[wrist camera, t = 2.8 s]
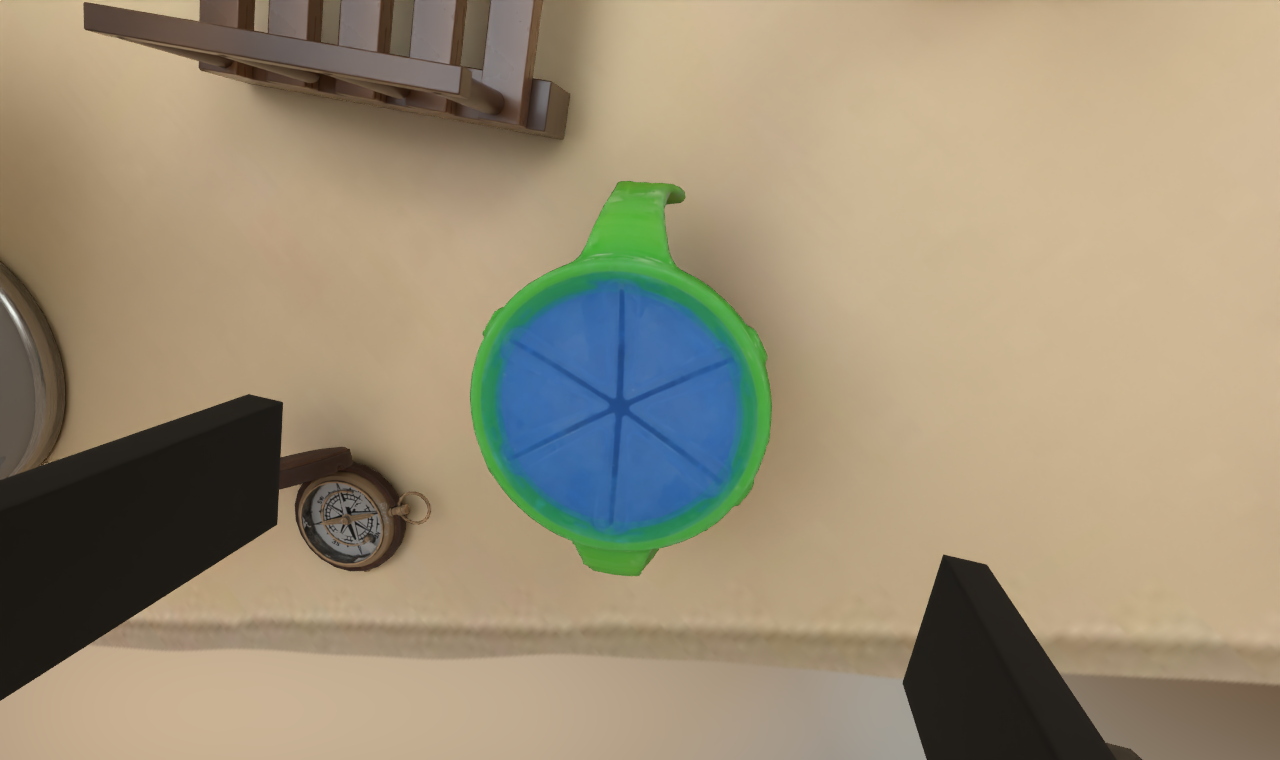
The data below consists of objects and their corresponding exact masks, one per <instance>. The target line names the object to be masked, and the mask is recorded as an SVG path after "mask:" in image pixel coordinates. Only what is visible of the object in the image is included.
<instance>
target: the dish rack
mask: <svg viewBox="0 0 1280 760" xmlns="http://www.w3.org/2000/svg"><path fill="white" fill-rule="evenodd" d="M542 3H543V0H491V1H490V10H489V19H488V27H487V36H486V45H485V54H484V63H483V70H482V69H476V68H470V67H464V66H460V64H461V55H462V45H463V36H464V26H465V17H466V7H467V0H414V9H413V20H412V32H411V43H410V54H409V57H405V56H399V55H394V54H390V42H391V30H392V17H393V5H394V0H341V5H340V20H339V36H338V45H335V44H329V43H323V42H321V31H322V14H323V0H269V19H268V33H264V32H258V31H254V13H255V0H200V22H199V21H193V20H187V19H181V18H176V17H170V16H164V15H158V14H152V13H146V12H140V11H134V10H129V9H123V8H117V7H111V6H105V5H99V4H93V3H87V2H84V29H85V30H88V31H91V32H95V33H98V34H102V35H105V36H111V37H116V38H119V39H123V40H126V41H130V42H134V43H137V44H141V45H144V46H148V47H151V48H155V49H158V50H162V51H165V52H169V53H172V54H176V55H179V56H183V57H186V58H190V59H194V60H197V61H199V68H200V70H201V71H204V72H208V73H212V74H216V75H219V76H223V77H227V78H230V79H234V80H238V81H242V82H245V83H250V84H256V85H261V86H267V87H272V88H278V89H283V90H289V91H295V92H300V93H306V94H311V95H317V96H322V97H328V98H334V99H339V100H345V101H350V102H356V103H361V104H367V105H373V106H378V107H384V108H389V109H395V110H400V111H406V112H411V113H417V114H423V115H428V116H434V117H439V118H445V119H450V120H456V121H462V122H467V123H473V124H478V125H484V126H489V127H495V128H501V129H506V130H512V131H517V132H523V133H528V134H534V135H540V136H545V137H551V138H556V139H562V140H563V139H564V134H565V127H566V120H567V113H568V106H569V99H570V94H569V93H568V92H566V91H565V90H563V89H562V88H560V87H559V86H557V85H556V84H554V83H553V82H551V81H546V80H541V79H535V78H533V72H534V64H535V56H536V49H537V41H538V33H539V26H540V18H541V11H542Z"/></svg>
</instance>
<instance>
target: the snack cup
mask: <svg viewBox="0 0 1280 760" xmlns="http://www.w3.org/2000/svg"><path fill="white" fill-rule="evenodd" d="M684 199H685V192H684V191H683V190H682V189H681V188H680V187H678V186H676V185H673V184H665V183H647V182H632V181H621V182H618V183H617V185H616V187H615V189H614V191H613V192H612V194H611V196H610V197H609V198H608V200H607V202H606V203H605V205H604V206H603V209H602V211H601V213H600V215H599V217H598V219H597V221H596V223H595V225H594V227H593V229H592V232H591V234H590V236H589V239H588V241H587V243H586V246H585V248H584V249H583V251H582V253H581V255H580V256H579V257H578V258H577V259H576V260H574V261H573V262H571V263H569V264H567V265H564V266H562V267H559V268H557V269H555V270H553V271H550V272H548V273H546V274H545V275H543V276H541V277H539V278H538V279H536V280H534V281H533V282H531V283H529V284H528V285H527V286H525V287H524V288H523V289H522V290H520V291H519V292H518V293H517V294H516V295H515V296H514V297H513V298H511V299H510V300H509V302H508V303H507V304H506V305H505V306H504V307H502V308H500V309H498V310H497V311H495V312H494V314H493V316H492V318H491V319H490V321H489V322H488V324H487V326H486V328H485V330H484V331H483V336H484V339H483V341H482V344H481V346H480V348H479V350H478V353H477V357H476V361H475V364H474V369H473V373H472V379H471V390H470V401H471V414H472V420H473V426H474V430H475V434H476V437H477V441H478V444H479V446H480V449H481V452H482V455H483V457H484V459H485V462H486V464H487V467H488V469H489V471H490V472H491V474H492V475H493V476H494V478H495V479H496V481H497V482H498V483H499V485H500V486H501V488H502V489H503V490H504V491H505V493H506V494H507V495H508V496H509V498H510V499H511V500H512V501H513V502H514V503H515V504H516V505H517V506H518V507H519V508H521V509H522V510H523V511H524V512H525V513H526V514H527V515H528V516H529V517H531V518H532V519H533V520H535V521H536V522H538V523H539V524H541V525H542V526H543V527H545V528H547V529H548V530H550V531H552V532H553V533H555V534H557V535H559V536H561V537H564V538H566V539H568V540H571V541H572V542H573V544H574V545H575V546H576V548H577V550H578V552H579V555H580V556H581V558H582V560H583V564H585V565H587V566H589V568H591V569H592V570H594V571H598V572H603V573H608V574H614V575H622V576H639V575H640V574H641V571H642V570H643V569H644V568H645V566H646V565H647V564H648V563H649V562H650V560H651V559H652V558H653V557H654V555H655V554H656V552H657V551H658V550H659V548H663V547H667V546H671V545H674V544H677V543H680V542H682V541H685V540H687V539H690V538H692V537H694V536H696V535H698V534H700V533H701V532H703V531H706V530H707V529H708V528H710V527H711V526H713V525H714V524H716V523H717V522H718V521H719V520H721V519H722V518H723V517H724V516H725V515H726V514H727V513H728V512H729V511H730V510H731V508H732V507H733V506H738V505H739V504H740V503H741V502H742V500H743V499H744V498H745V497H746V496H747V495H748V493H749V492H750V490H751V489H752V487H753V484H754V477H755V475H756V473H757V471H758V470H759V467H760V464H761V461H762V459H763V456H764V454H765V450H766V446H767V444H768V442H769V437H770V426H771V410H772V402H771V392H770V384H769V379H768V375H767V370H766V367H765V364H766V360H767V354H766V352H765V349H764V347H763V345H762V342H761V341H760V339H759V337H758V334H757V333H756V331H755V330H754V329H753V328H751V327H749V326H747V325H746V324H745V323H744V321H743V320H742V318H741V317H740V316H739V315H738V314H737V313H736V311H735V310H734V309H733V308H732V307H731V306H730V305H729V304H728V303H727V302H726V301H725V300H724V299H723V298H722V297H721V296H720V295H719V294H717V293H716V292H715V291H714V290H713V289H712V288H711V287H709V286H708V285H706V284H705V283H704V282H702V281H701V280H699V279H697V278H695V277H694V276H692V275H690V274H688V273H686V272H684V271H682V270H680V269H679V268H678V267H677V266H676V265H675V263H674V262H673V260H672V258H671V256H670V253H669V247H668V241H667V235H666V227H665V215H664V208H665V205H666V204H675V203H681V202H683V201H684Z"/></svg>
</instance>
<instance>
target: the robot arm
mask: <svg viewBox="0 0 1280 760" xmlns="http://www.w3.org/2000/svg"><path fill="white" fill-rule="evenodd" d="M64 408H65V381H64V374H63V367H62V363H61V359H60V355H59V351H58V348H57V345H56V342H55V339H54V336H53V334H52V332H51V329H50V327H49V325H48V323H47V321H46V319H45V317H44V315H43V313H42V311H41V310H40V308H39V307H38V305H37V303H36V302H35V300H34V299H33V297H32V296H31V294H30V293H29V292H28V290H27V289H26V288H25V286H24V285H23V284H22V283H21V282H20V281H19V279H18V278H17V277H16V276H15V275H14V274H13V273H12V272H11V271H10V270H9V269H8V268H7V267H6V266H5V265H4V264H3V263H1V262H0V701H1V700H2V699H4V698H5V697H7V696H9V695H10V694H12V693H13V692H15V691H16V690H18V689H20V688H21V687H23V686H24V685H26V684H27V683H29V682H31V681H32V680H34V679H35V678H37V677H38V676H40V675H41V674H43V673H45V672H46V671H48V670H49V669H51V668H53V667H54V666H56V665H57V664H59V663H60V662H62V661H63V660H65V659H67V658H68V657H70V656H71V655H73V654H74V653H76V652H78V651H79V650H81V649H82V648H84V647H86V646H87V645H89V644H90V643H92V642H93V641H95V640H97V639H98V638H100V637H101V636H103V635H104V634H106V633H107V632H109V631H111V630H112V629H114V628H115V627H117V626H118V625H120V624H122V623H123V622H125V621H126V620H128V619H129V618H131V617H133V616H134V615H136V614H137V613H139V612H140V611H142V610H144V609H145V608H147V607H148V606H150V605H151V604H153V603H155V602H156V601H158V600H159V599H161V598H162V597H164V596H166V595H167V594H169V593H170V592H172V591H173V590H175V589H177V588H178V587H180V586H181V585H183V584H184V583H186V582H188V581H189V580H191V579H192V578H194V577H195V576H197V575H199V574H200V573H202V572H203V571H205V570H206V569H208V568H210V567H211V566H213V565H214V564H216V563H217V562H219V561H221V560H222V559H224V558H225V557H227V556H228V555H230V554H232V553H233V552H235V551H236V550H238V549H239V548H241V547H243V546H244V545H246V544H247V543H249V542H250V541H252V540H254V539H255V538H257V537H258V536H260V535H261V534H263V533H264V532H266V531H268V530H269V529H271V528H272V527H274V526H275V525H277V517H278V496H279V475H280V453H281V432H282V411H283V402H280V401H276V400H271V399H267V398H263V397H258V396H254V395H250V394H248V395H245V396H242V397H239V398H237V399H234V400H231V401H228V402H225V403H222V404H219V405H216V406H213V407H210V408H208V409H205V410H202V411H199V412H196V413H193V414H190V415H187V416H184V417H181V418H179V419H176V420H173V421H170V422H167V423H164V424H161V425H158V426H155V427H152V428H150V429H147V430H144V431H141V432H138V433H135V434H132V435H129V436H126V437H123V438H121V439H118V440H115V441H112V442H109V443H106V444H103V445H100V446H97V447H94V448H92V449H89V450H86V451H83V452H80V453H77V454H74V455H71V456H68V457H66V458H63V459H60V460H57V461H54V462H51V463H48V464H45V465H42V466H39V465H40V464H41V463H42V462H43V461H44V460H45V458H46V457H47V456H48V455H49V453H50V451H51V450H52V448H53V446H54V444H55V442H56V440H57V438H58V435H59V432H60V429H61V426H62V421H63V416H64ZM38 466H39V467H38ZM903 685H904V689H905V692H906V695H907V698H908V702H909V705H910V708H911V711H912V714H913V717H914V720H915V724H916V727H917V730H918V733H919V737H920V740H921V743H922V746H923V749H924V752H925V756H926V758H927V760H1142V759H1141V758H1140V757H1139V756H1138V755H1137V754H1136V753H1134V752H1133V751H1132V750H1131V749H1128V748H1124V747H1120V746H1116V745H1112V744H1108V743H1105V741H1104V740H1103V738H1102V737H1101V735H1100V734H1099V732H1098V731H1097V729H1096V728H1095V726H1094V725H1093V723H1092V722H1091V720H1090V719H1089V717H1088V716H1087V714H1086V713H1085V711H1084V710H1083V708H1082V707H1081V705H1080V704H1079V702H1078V701H1077V699H1076V698H1075V696H1074V695H1073V693H1072V692H1071V690H1070V689H1069V688H1068V686H1067V684H1066V683H1065V682H1064V680H1063V678H1062V677H1061V675H1060V674H1059V672H1058V671H1057V669H1056V668H1055V666H1054V665H1053V663H1052V662H1051V660H1050V659H1049V657H1048V656H1047V654H1046V653H1045V651H1044V650H1043V648H1042V647H1041V645H1040V644H1039V642H1038V641H1037V639H1036V638H1035V636H1034V635H1033V633H1032V632H1031V630H1030V629H1029V627H1028V626H1027V624H1026V623H1025V621H1024V620H1023V618H1022V617H1021V615H1020V614H1019V612H1018V611H1017V609H1016V608H1015V606H1014V605H1013V603H1012V602H1011V600H1010V599H1009V597H1008V596H1007V594H1006V593H1005V591H1004V590H1003V588H1002V587H1001V585H1000V584H999V582H998V581H997V579H996V578H995V576H994V575H993V573H992V572H991V570H990V569H989V567H988V566H987V565H986V564H982V563H977V562H973V561H969V560H964V559H960V558H956V557H951V556H947V555H943V557H942V560H941V564H940V567H939V570H938V573H937V576H936V579H935V583H934V586H933V589H932V592H931V595H930V598H929V601H928V605H927V608H926V611H925V614H924V617H923V620H922V623H921V627H920V630H919V633H918V636H917V639H916V642H915V645H914V649H913V652H912V655H911V658H910V661H909V664H908V667H907V671H906V674H905V677H904V680H903Z"/></svg>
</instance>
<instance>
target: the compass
mask: <svg viewBox="0 0 1280 760" xmlns="http://www.w3.org/2000/svg"><path fill="white" fill-rule="evenodd" d="M301 483H303V484H302V486H301V487H300V489H299V491H298V494H297V498H296V503H295V513H296V522H297V525H298V527H299V530H300V533H301V535H302V537H303V539H304V540H305V542H306V543H307V545H308V546H309V548H310V549H311V550H312V551H313V552H314V553H315V554H317V555H318V556H319V557H320V558H321V559H322V560H324V561H326V562H327V563H329V564H331V565H333V566H334V567H337V568H341V569H344V570H348V571H364V572H367V571H370V570H371V569H373V568H376V567H378V566H380V565H381V564H382V563H384V562H385V561H386V560H388V559H389V558H390V557H391V556H392V555H393V554H394V553H395V552H396V550H397V549H398V547H399V546H400V544H401V543H402V540H403V536H404V533H405V529H406V527H405V521H406V522H409V523H411V524H421V523H424V522H426V521H427V519H428V518H429V516H430V513H431V507H430V503H429V501H428V500H427V498H426V497H425V496H423V495H422V494H420V493H418V492H410V491H409V492H407V493H404V494H403V495H402V496H401V497H400V498H399V496H398V494H397V493H396V491H395V490H394V488H393V486H392V485H391V484H390V483H389V482H388V481H387V480H386V479H385V478H384V477H383V476H382V475H381V474H380V473H378V472H376V471H374V470H372V469H371V468H369V467H367V466H365V465H361V464H357V463H353V460H352V456H351V452H350V449H347V448H345V447H338V448H327V449H318V450H313V451H308V452H303V453H298V454H294V455H289V456H285V457H281V458H280V475H279V489H283V488H287V487H291V486H294V485H298V484H301ZM409 494H415V495H418V496H420V497H421V498H422V499H423V500H425V502H426V504H427V506H428V513H427V516H426V518H425V519H424V520H422V521H419V522H417V521H411V520H409V519H407V518H406V517H405V514H409V512H410V507H409V506H408V505H407V504H406V505H402V503H401V501H402V499H403V498H404V497H405V496H407V495H409Z"/></svg>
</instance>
